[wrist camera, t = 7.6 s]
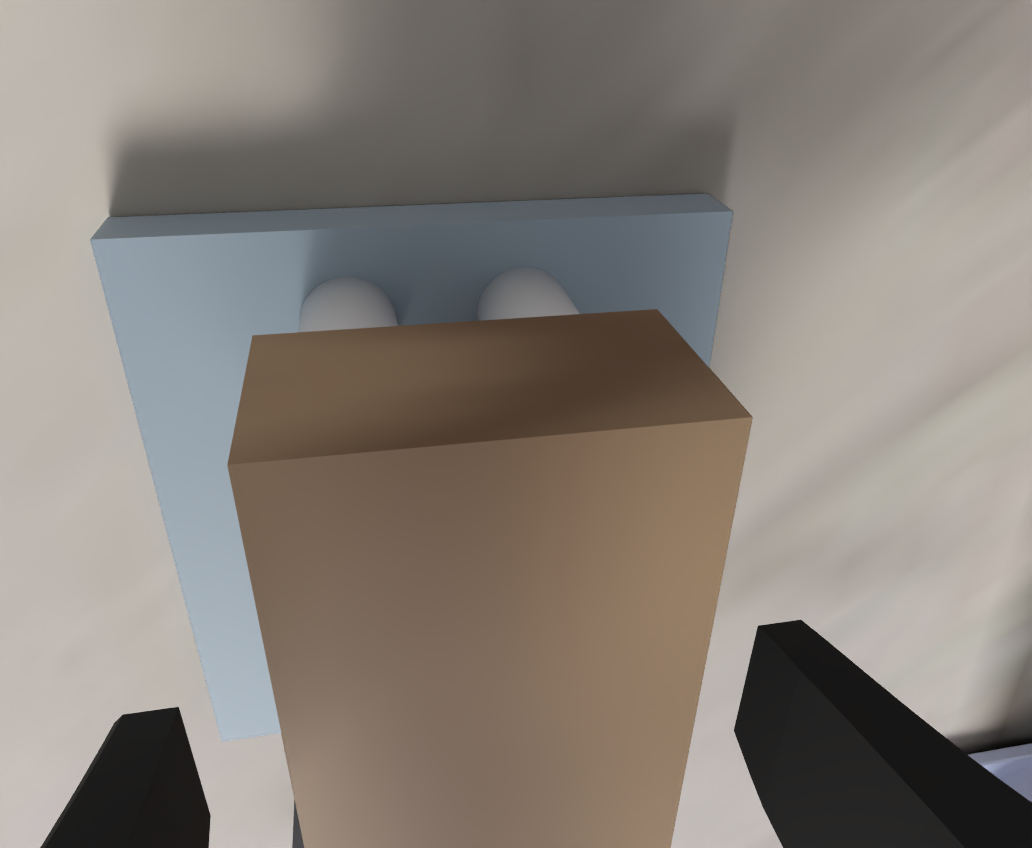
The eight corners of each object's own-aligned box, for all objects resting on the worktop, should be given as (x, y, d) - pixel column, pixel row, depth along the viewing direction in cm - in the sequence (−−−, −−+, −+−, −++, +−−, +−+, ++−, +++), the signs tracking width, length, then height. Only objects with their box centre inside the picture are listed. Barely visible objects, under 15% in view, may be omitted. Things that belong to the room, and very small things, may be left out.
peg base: (706, 193, 13) (838, 282, 10) (646, 642, 18) (718, 802, 15) (107, 217, 11) (15, 334, 8) (227, 701, 17) (200, 895, 13)
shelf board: (657, 309, 9) (752, 417, 7) (598, 830, 14) (644, 981, 12) (252, 335, 9) (227, 465, 6) (342, 876, 14) (344, 1046, 12)
